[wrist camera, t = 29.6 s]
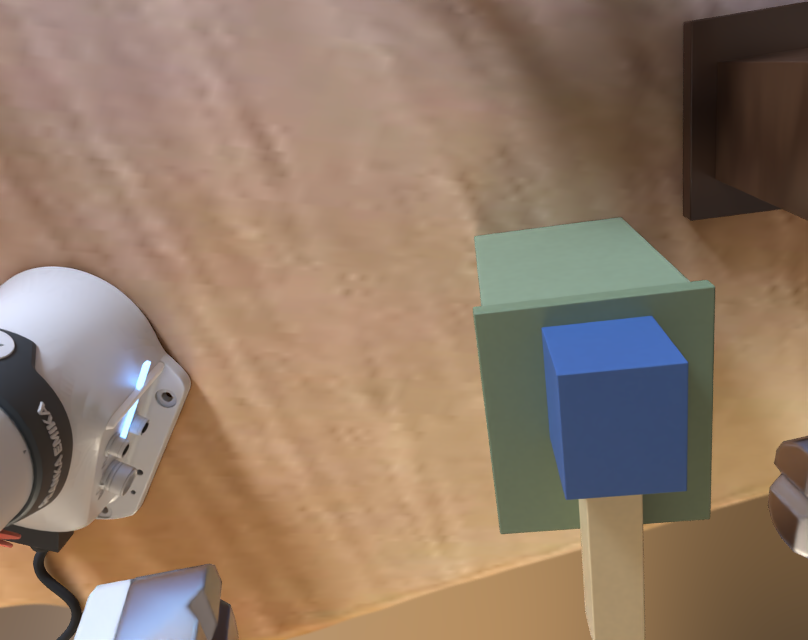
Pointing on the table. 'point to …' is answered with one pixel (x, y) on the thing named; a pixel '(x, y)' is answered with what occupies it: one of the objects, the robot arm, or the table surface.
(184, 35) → the table surface
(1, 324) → the robot arm
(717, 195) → the shelf stand
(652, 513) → the toy box
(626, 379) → the toy hammer
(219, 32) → the table surface
